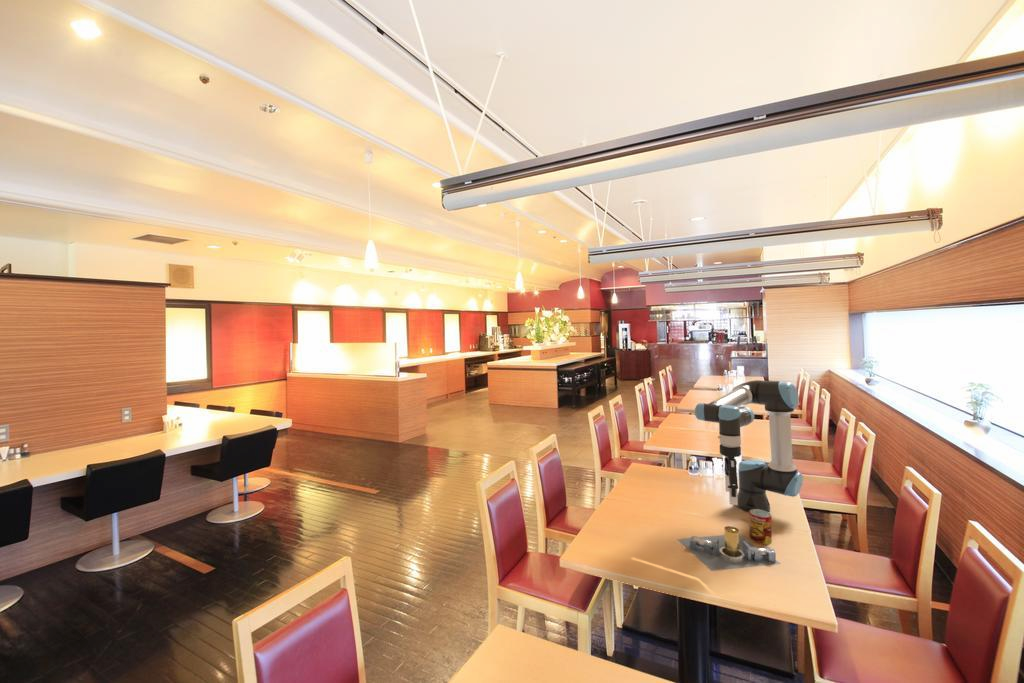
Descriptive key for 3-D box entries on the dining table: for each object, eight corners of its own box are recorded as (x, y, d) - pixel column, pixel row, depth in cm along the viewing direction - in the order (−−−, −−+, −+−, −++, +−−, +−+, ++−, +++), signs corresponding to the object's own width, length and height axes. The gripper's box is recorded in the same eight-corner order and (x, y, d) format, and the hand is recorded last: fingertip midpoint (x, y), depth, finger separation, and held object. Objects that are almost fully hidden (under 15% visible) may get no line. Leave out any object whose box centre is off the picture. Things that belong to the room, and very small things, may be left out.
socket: (734, 550, 165) (734, 545, 165) (749, 562, 156) (749, 556, 156) (715, 552, 164) (715, 547, 164) (729, 564, 155) (728, 558, 155)
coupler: (738, 555, 161) (737, 527, 161) (739, 561, 157) (739, 532, 157) (724, 553, 163) (723, 525, 163) (725, 559, 159) (725, 530, 159)
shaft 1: (719, 551, 165) (719, 537, 165) (716, 556, 161) (716, 542, 161) (692, 543, 171) (692, 530, 171) (689, 548, 167) (689, 535, 167)
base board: (738, 535, 179) (737, 533, 179) (781, 565, 155) (781, 563, 155) (677, 541, 175) (677, 539, 175) (711, 572, 151) (711, 570, 151)
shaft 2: (748, 561, 157) (748, 547, 157) (742, 554, 162) (742, 541, 162) (776, 562, 156) (776, 548, 156) (770, 556, 160) (770, 542, 160)
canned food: (745, 539, 176) (745, 511, 176) (758, 535, 179) (757, 507, 179) (763, 547, 168) (762, 518, 168) (776, 543, 172) (775, 514, 171)
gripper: (716, 436, 178) (718, 485, 178) (722, 453, 155) (724, 509, 155) (736, 437, 175) (737, 487, 176) (745, 454, 152) (747, 511, 152)
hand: (731, 497), depth 165 cm, fingers open, 13 cm apart
